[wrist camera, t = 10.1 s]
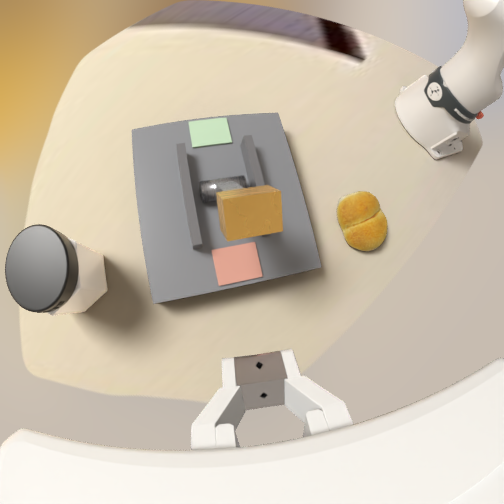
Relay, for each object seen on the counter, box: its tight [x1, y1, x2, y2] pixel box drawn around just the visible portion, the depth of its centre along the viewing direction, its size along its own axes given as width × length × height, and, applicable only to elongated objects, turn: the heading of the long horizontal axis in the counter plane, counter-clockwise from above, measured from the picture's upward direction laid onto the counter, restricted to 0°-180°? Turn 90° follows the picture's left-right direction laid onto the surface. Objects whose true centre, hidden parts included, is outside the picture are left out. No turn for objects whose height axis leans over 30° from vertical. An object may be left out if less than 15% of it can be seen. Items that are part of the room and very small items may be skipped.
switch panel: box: [132, 113, 321, 304], centre depth 33 cm, size 20×22×6 cm
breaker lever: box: [199, 175, 283, 241], centre depth 27 cm, size 5×3×13 cm
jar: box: [5, 224, 108, 316], centre depth 25 cm, size 9×8×12 cm
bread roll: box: [337, 191, 387, 251], centre depth 39 cm, size 8×9×4 cm
